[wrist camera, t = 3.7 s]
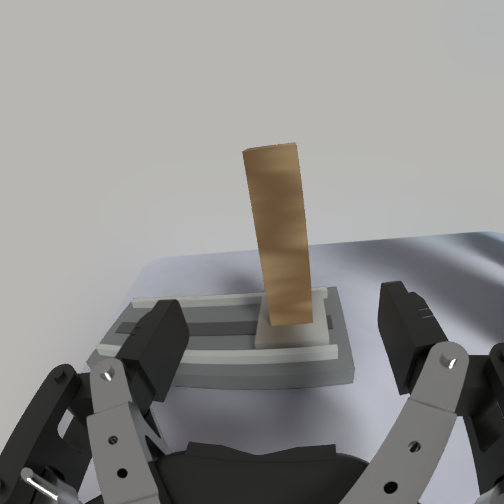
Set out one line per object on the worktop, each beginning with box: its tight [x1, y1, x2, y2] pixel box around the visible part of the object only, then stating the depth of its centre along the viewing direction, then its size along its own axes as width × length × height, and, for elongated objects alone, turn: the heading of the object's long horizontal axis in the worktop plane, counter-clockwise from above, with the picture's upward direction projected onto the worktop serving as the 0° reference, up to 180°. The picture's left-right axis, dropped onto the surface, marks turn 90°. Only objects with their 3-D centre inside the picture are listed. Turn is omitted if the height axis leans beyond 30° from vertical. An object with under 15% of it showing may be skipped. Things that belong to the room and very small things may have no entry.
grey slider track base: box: [86, 287, 355, 390], centre depth 22 cm, size 21×10×2 cm, turn 83°
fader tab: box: [243, 143, 329, 350], centre depth 18 cm, size 5×6×13 cm
